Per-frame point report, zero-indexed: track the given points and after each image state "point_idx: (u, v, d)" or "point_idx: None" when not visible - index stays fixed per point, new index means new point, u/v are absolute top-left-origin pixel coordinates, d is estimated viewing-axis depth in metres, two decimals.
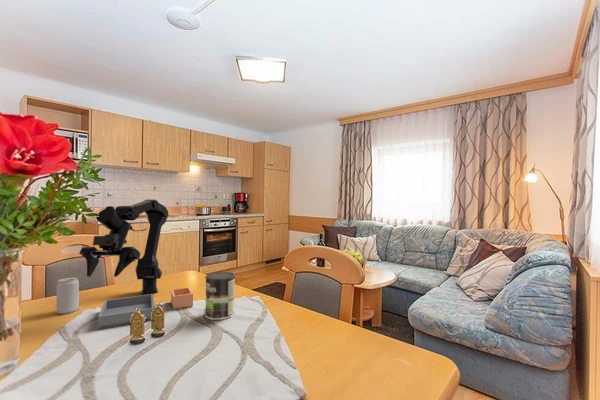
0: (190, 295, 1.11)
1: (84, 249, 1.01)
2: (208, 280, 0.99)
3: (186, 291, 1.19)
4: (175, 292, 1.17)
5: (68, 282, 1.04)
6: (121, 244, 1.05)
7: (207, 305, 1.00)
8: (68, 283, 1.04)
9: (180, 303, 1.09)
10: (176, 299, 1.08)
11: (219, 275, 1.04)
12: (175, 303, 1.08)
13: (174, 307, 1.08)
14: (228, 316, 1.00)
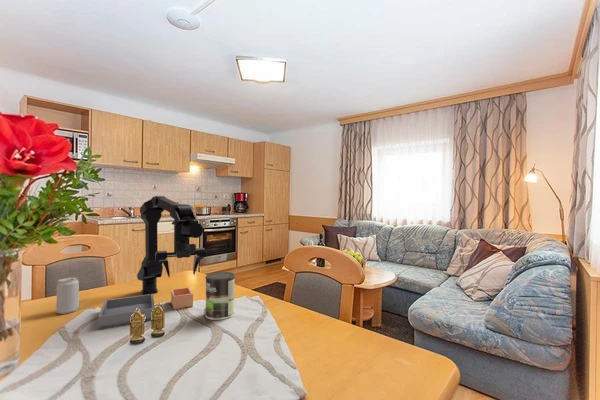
0: (190, 295, 1.11)
1: (160, 256, 1.08)
2: (208, 280, 0.99)
3: (186, 291, 1.19)
4: (175, 292, 1.17)
5: (68, 282, 1.04)
6: None
7: (207, 305, 1.00)
8: (68, 283, 1.04)
9: (180, 303, 1.09)
10: (176, 299, 1.08)
11: (219, 275, 1.04)
12: (175, 303, 1.08)
13: (174, 307, 1.08)
14: (228, 316, 1.00)
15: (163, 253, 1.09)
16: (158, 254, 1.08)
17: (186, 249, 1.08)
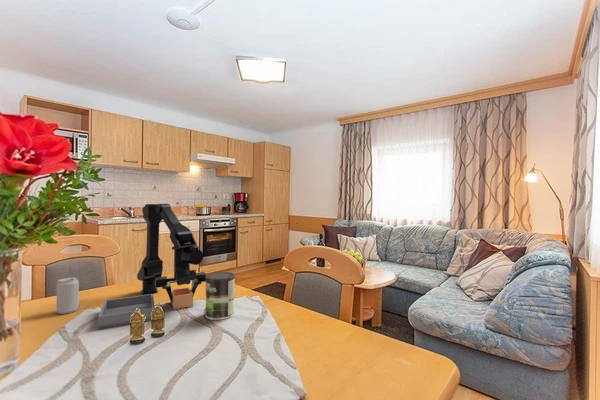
0: (190, 295, 1.11)
1: (161, 283, 1.08)
2: (208, 280, 0.99)
3: (186, 291, 1.19)
4: (175, 292, 1.17)
5: (68, 282, 1.04)
6: None
7: (207, 305, 1.00)
8: (68, 283, 1.04)
9: (180, 303, 1.09)
10: (176, 299, 1.08)
11: (219, 275, 1.04)
12: (175, 303, 1.08)
13: (174, 307, 1.08)
14: (228, 316, 1.00)
15: (163, 280, 1.09)
16: (158, 281, 1.08)
17: (186, 276, 1.08)
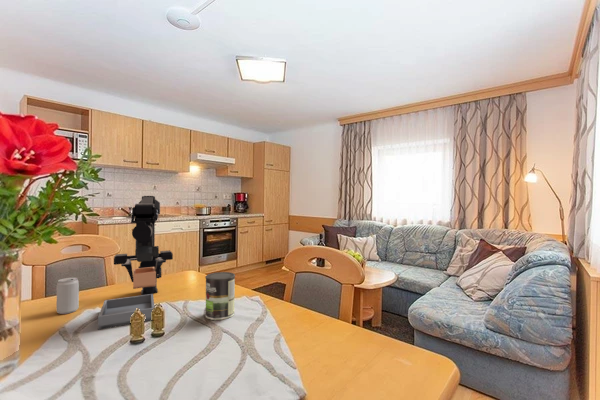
0: (153, 273, 1.03)
1: (119, 260, 0.99)
2: (208, 280, 0.99)
3: (150, 271, 1.11)
4: (138, 272, 1.08)
5: (68, 282, 1.04)
6: None
7: (207, 305, 1.00)
8: (68, 283, 1.04)
9: (141, 282, 1.01)
10: (136, 277, 1.00)
11: (219, 275, 1.04)
12: (135, 282, 1.00)
13: (134, 286, 1.00)
14: (228, 316, 1.00)
15: (122, 256, 1.00)
16: (116, 257, 0.99)
17: (147, 252, 0.99)
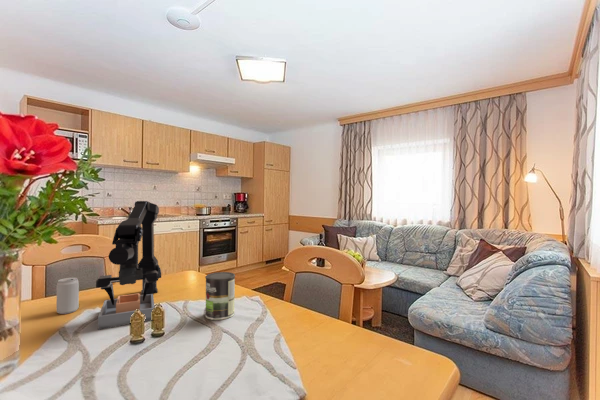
0: (136, 303, 1.00)
1: (102, 283, 0.96)
2: (208, 280, 0.99)
3: (136, 298, 1.08)
4: (123, 299, 1.06)
5: (68, 282, 1.04)
6: None
7: (207, 305, 1.00)
8: (68, 283, 1.04)
9: None
10: (119, 307, 0.97)
11: (219, 275, 1.04)
12: (118, 312, 0.97)
13: None
14: (228, 316, 1.00)
15: (105, 279, 0.97)
16: (99, 280, 0.96)
17: (130, 275, 0.96)
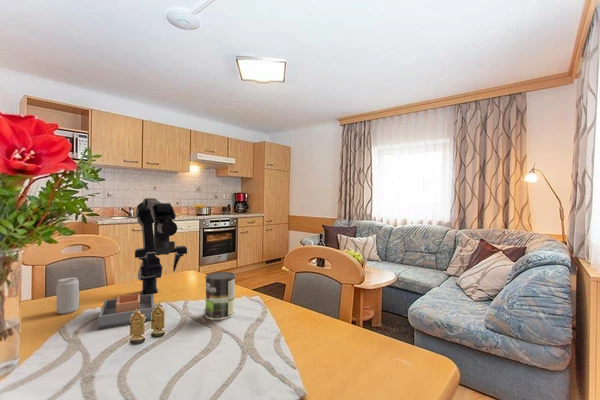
0: (136, 303, 1.00)
1: (140, 254, 1.10)
2: (208, 280, 0.99)
3: (136, 298, 1.08)
4: (123, 299, 1.06)
5: (68, 282, 1.04)
6: None
7: (207, 305, 1.00)
8: (68, 283, 1.04)
9: None
10: (119, 307, 0.97)
11: (219, 275, 1.04)
12: (118, 312, 0.97)
13: None
14: (228, 316, 1.00)
15: (142, 250, 1.11)
16: (137, 251, 1.10)
17: (165, 246, 1.10)
